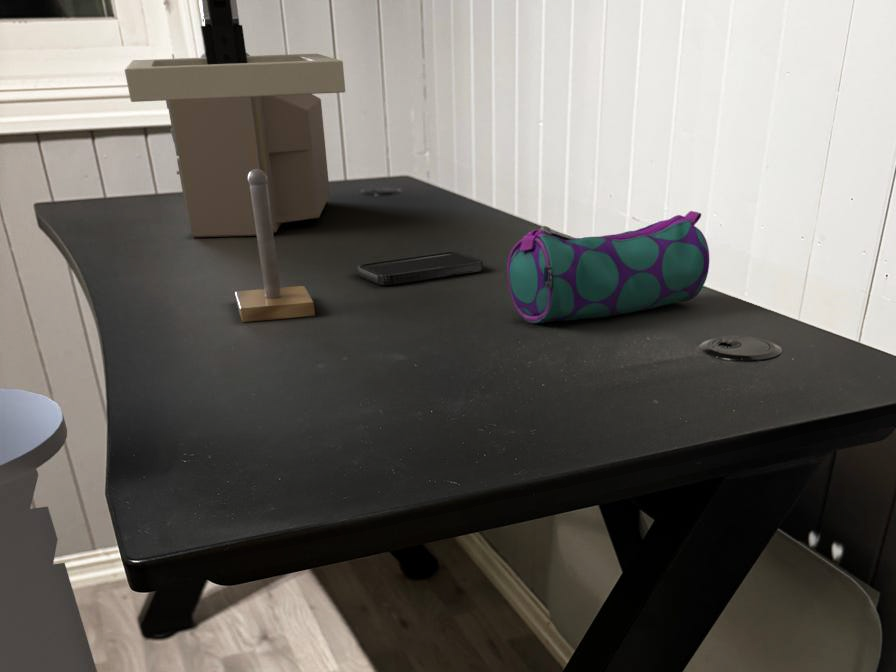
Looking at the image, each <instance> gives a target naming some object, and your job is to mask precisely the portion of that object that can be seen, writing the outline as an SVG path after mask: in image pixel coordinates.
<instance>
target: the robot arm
mask: <svg viewBox="0 0 896 672" xmlns="http://www.w3.org/2000/svg"><path fill="white" fill-rule="evenodd" d="M199 6H200V13H201V18H202V19H201V20H202V25H200V30H201V36H202V43H203V50H204V53H205V56H206V58H207V64H208V65H210V64H237V63H247V56H246V53H247V50H246V43H245V35H244V28H243V24H240V17H239V11H238V3H237V0H199Z"/></svg>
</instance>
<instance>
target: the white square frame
mask: <svg viewBox="0 0 896 672" xmlns="http://www.w3.org/2000/svg"><path fill="white" fill-rule="evenodd" d="M124 74H125V80H126V85H127V89H128V94H129V99H130V102H132V103H138V102H162V101H166V100H186V99H209V98H231V97H254V96H276V95H299V94H313V95H318V94H321V95H322V94H338V93H339V94H340V93H341V94H342V93H343V94H344V93H346V83H345V81H346V80H345V71H344V61H343V60H340V59H339V58H338V59H337V58H334V57H330V56H327V55H323V54H319V53H293V54H269V55H268V54H265V55H264V54H263V55H250V56H247V63H237V64H210V65H208V64H207V58H200V57H187V58H186V57H184V58H182V57H181V58H179V57H178V58H155V59H153V58H152V59H132V61H131V62H130V63H129V64H128V65H127V66H125V69H124Z"/></svg>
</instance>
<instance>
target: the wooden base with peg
mask: <svg viewBox="0 0 896 672" xmlns="http://www.w3.org/2000/svg"><path fill="white" fill-rule="evenodd" d="M248 182H249V184H250V190H251V197H252V204H253V211H254V219H255V226H256V233H257V236H256V240H257V247H258V255H259V262H260V269H261V276H262V282H263V283H262V284H263V288H262V289H260V288H259V289H249V290H237V291H234V295H235V300H236V306H237V310H238V313H239V316H240V319H241V322H242V323H249V322H259V321H271V320H281V319H282V320H283V319H293V318H294V319H295V318H304V317H315V316H316V314H315V313H316V311H315V304H314V303H315V302H314V300H313V299H312V297H311V295H310V293H309V292H308V290H307V289H306V287H305V285H297V286H285V287H281V283H280V276H279V266H278V260H277V259H278V258H277V251H276V244H275V243H276V242H275V236H274V232H273V227H272V219H271V211H270V204H269V196H268V188H267V176H266V174H265V173H264V172H263V171H262V170H259V169H254V170H252V171H251V172H250V173H249V176H248Z"/></svg>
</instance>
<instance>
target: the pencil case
mask: <svg viewBox="0 0 896 672" xmlns="http://www.w3.org/2000/svg"><path fill="white" fill-rule="evenodd" d="M701 217H702V213H701V212H698V211H693V210H690V211H688V212H687V213H686V214H685V215H682V214H677V215H674V216H672V217H670V218H669V219H665V220H664V219H663V220H660V221H657V222H655V223H652V224H649V225H646V226H645V227H642V228H638V229H636V230H628V231H624V232H621V233H616V234H615V233H614V234H606V235H600V236H599V235H598V236H586V237H585V236H584V237H572V236H570V235H567V234H564V233H561V232H558V231H554V230H551V228H550V227H549V226H546V225H543V226H541V227H540V228H534V229H532V230H531V231H529V232H527V233H526V234H525V235H523V237H522V238H520V240H519V241H517V242H516V244H514V246H513V247H512V249H511V251H510V253H509V255H508V259H507V265H506V269H507V270H506V271H507V282H508V286H509V291H510V295H511V299H512V302H513V304H514V307H515V309H516V311H517V312H518V314H519V315H520V316H521V317H522V318H523V319H524V321H526V323H529V324H542V323H546V322H547V323H548V322H549V323H551V322H567V321H578V320H584V319H585V320H586V319H596V318H597V319H598V318H600V319H601V318H607V317H612V316H619V315H626V314H632V313H636V312H641V311H645V310H651V309H655V308H659V307H663V306H667V305H673V304H675V303H678V302H687V301H690V300H692V299H694V298H696V297H697V296H699V294H700V292H701V291H702V289H703V287H704V285H705V283H706V281H707V278H708V274H709V269H710V250H709V249H710V248H709V244H708V241H707V238H706V237H705V235H704V233H703V232H702V231H701V230H700V229H699V228H698V227H697V226H696V224H697V223H698V222H699V220H700V219H701Z"/></svg>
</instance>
